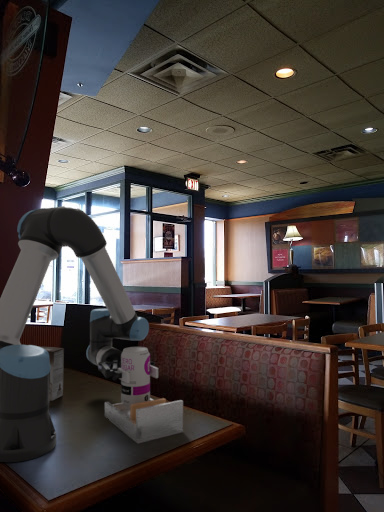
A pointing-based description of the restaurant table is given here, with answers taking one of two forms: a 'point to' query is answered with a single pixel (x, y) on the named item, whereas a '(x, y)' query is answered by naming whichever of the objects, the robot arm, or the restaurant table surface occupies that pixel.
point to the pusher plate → (144, 404)
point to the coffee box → (55, 371)
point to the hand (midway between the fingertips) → (142, 375)
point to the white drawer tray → (147, 420)
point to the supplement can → (136, 375)
